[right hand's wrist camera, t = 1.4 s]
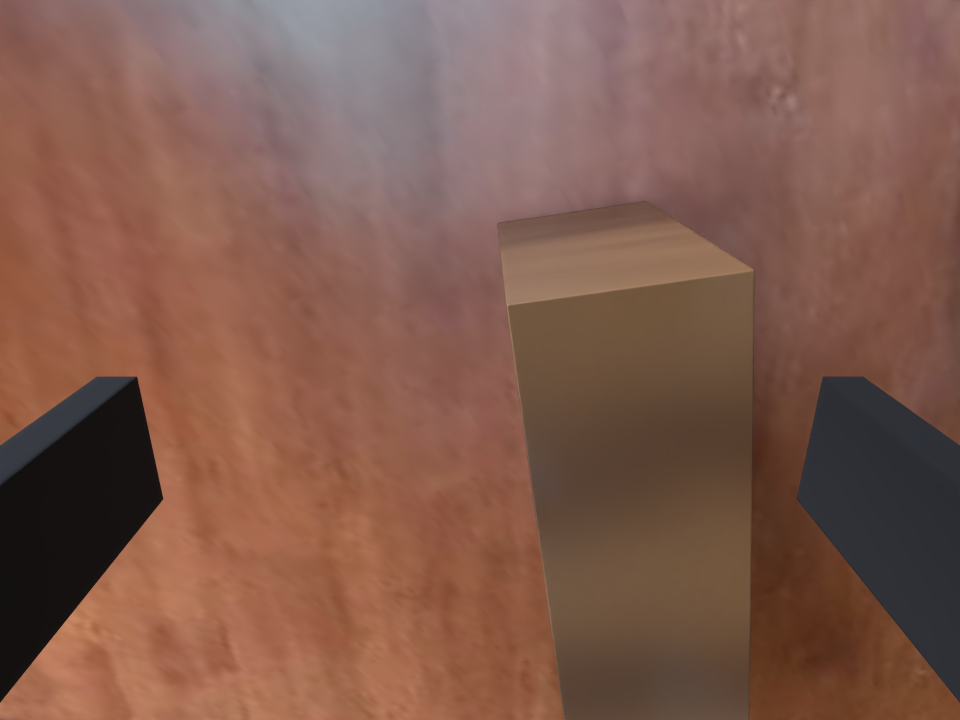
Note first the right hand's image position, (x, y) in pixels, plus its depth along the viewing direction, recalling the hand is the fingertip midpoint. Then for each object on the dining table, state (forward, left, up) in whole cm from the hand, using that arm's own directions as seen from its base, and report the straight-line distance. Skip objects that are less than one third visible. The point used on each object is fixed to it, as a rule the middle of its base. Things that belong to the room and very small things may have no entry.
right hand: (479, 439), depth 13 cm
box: (-1, +12, -17) cm, 21 cm away
